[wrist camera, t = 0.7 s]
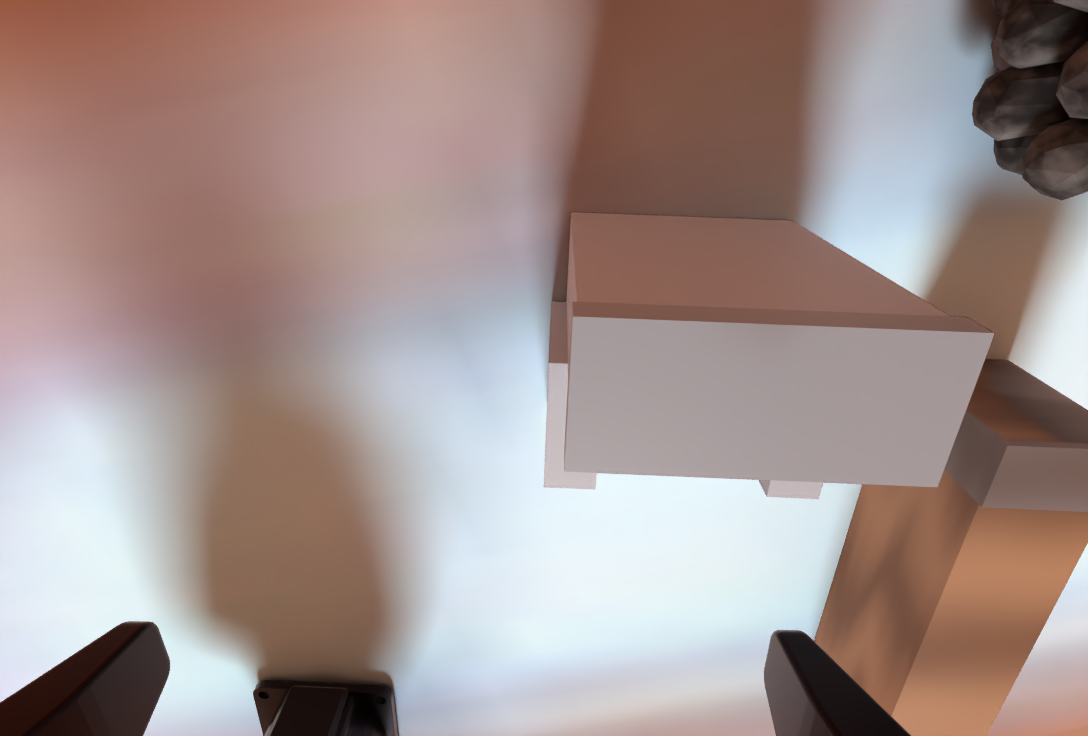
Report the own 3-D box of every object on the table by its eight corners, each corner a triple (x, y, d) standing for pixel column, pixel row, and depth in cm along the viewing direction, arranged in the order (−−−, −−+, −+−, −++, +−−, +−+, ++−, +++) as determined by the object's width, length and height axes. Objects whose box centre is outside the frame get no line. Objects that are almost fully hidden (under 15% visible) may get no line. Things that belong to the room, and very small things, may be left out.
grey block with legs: (766, 414, 22) (901, 633, 13) (547, 405, 22) (538, 617, 14) (808, 217, 19) (1018, 334, 10) (555, 208, 19) (549, 315, 11)
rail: (883, 678, 28) (958, 815, 23) (800, 674, 28) (855, 810, 23) (1007, 360, 21) (1154, 451, 16) (897, 355, 21) (1007, 445, 16)
